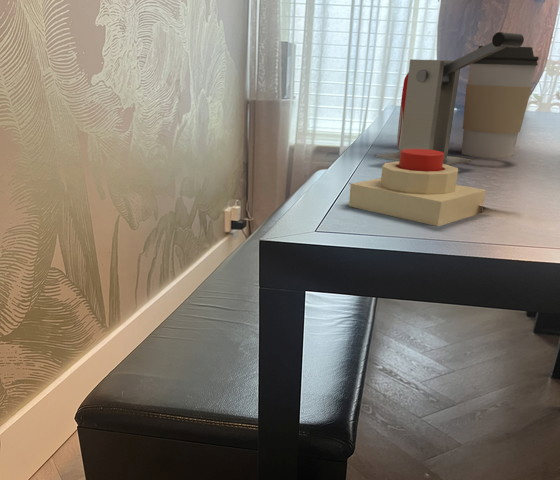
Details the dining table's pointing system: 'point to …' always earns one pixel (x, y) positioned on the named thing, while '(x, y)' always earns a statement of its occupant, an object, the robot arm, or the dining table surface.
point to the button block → (418, 195)
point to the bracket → (428, 110)
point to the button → (421, 160)
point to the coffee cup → (497, 101)
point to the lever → (483, 52)
